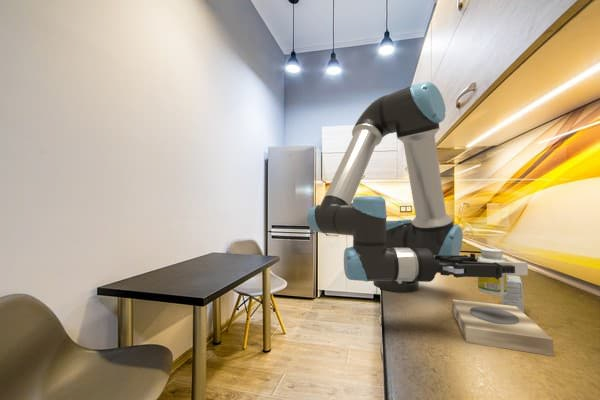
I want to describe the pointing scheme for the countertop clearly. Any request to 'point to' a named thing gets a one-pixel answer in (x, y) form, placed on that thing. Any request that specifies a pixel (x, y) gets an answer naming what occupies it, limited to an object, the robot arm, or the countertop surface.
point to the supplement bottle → (491, 283)
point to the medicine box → (514, 292)
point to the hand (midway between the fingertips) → (515, 265)
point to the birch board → (500, 327)
